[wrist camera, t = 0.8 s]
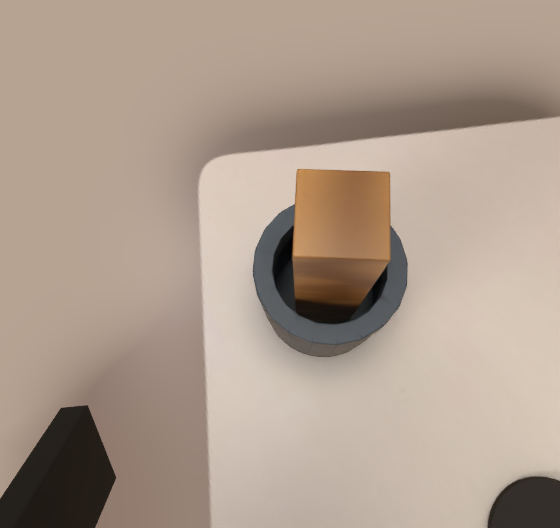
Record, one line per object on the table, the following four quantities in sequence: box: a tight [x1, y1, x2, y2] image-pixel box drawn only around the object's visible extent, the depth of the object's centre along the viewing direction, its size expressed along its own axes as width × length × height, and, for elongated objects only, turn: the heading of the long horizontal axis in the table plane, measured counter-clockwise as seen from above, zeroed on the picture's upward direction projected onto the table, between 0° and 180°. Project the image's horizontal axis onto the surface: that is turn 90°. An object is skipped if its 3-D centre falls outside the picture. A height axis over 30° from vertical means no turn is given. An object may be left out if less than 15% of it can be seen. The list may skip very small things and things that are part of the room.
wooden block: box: [292, 169, 391, 323], centre depth 28 cm, size 4×4×18 cm
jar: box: [253, 204, 407, 357], centre depth 32 cm, size 9×9×10 cm
